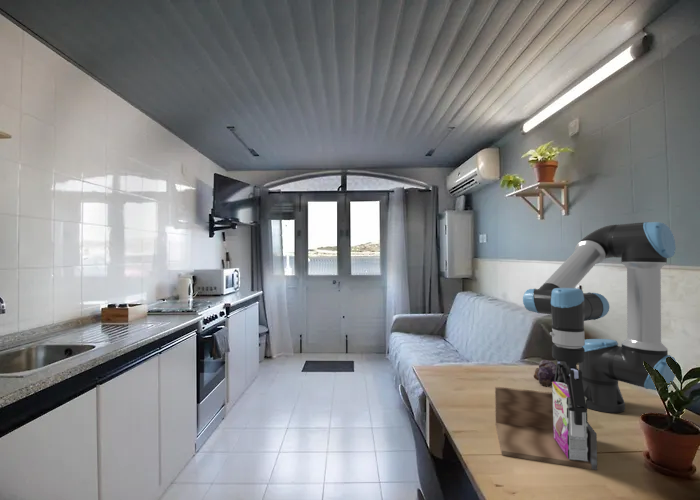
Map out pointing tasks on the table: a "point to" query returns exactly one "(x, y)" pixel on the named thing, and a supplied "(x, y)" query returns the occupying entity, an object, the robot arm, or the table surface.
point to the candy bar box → (567, 425)
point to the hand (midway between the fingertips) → (569, 423)
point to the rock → (545, 372)
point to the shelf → (533, 428)
